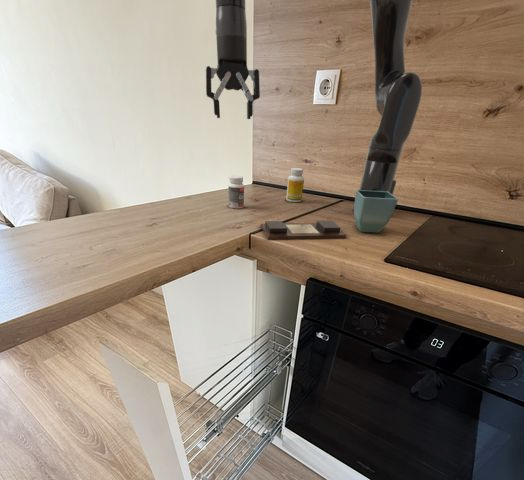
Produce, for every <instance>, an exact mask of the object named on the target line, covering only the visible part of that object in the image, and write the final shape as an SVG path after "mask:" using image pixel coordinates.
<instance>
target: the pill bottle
mask: <svg viewBox="0 0 524 480" xmlns="http://www.w3.org/2000/svg"><path fill="white" fill-rule="evenodd" d="M228 181H229V183H228V186H227V187H228V207H229V208H230V209H235V210H236V209H237V210H238V209H243V208H244V207H245V185H244V176H242V175H230V176H229V177H228Z"/></svg>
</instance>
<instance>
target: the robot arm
mask: <svg viewBox="0 0 524 480" xmlns="http://www.w3.org/2000/svg"><path fill="white" fill-rule="evenodd" d="M412 5H413V0H369V6H370V7H369V8H370V16H371V29H372V40H373V49H374V51H373V53H374V104H375V108H376V111H377V112H378V114H379V115H380V116H381V118H380V122H379V125H378V127H377V130H376V132H374V133H373V134H372V135H371V137H370V139H369V145H368V149H367V154H366V157H365V162H364V167H363V171H362V176H361V181H360V185H359V189H358V190H366V191H385V192H390V193H391V194H392V195H394V191H395V187H396V184H397V180H395V177H396V173H397V170H398V167H399V162H400V159H401V156H402V152H403V148H404V146H405V143H406V141H407V140H408V138H409V136H410V134H411V131H412V129H413V125H414V123H415V119H416V116H417V113H418V110H419V107H420V103H421V99H422V94H423V82H422V80H421V78H420V76H419V75H418V74H417V73H416V72H413V71H406V67H405V66H406V65H405V39H406V33H407V28H408V23H409V18H410V15H411V11H412ZM246 15H247V13H246V0H215V35H216V52H217V53H216V56H217V57H216V59H217V66H216V67H211V66H210V65H207V66H206V68H205V95H206V97H207V98H209V99H211V100H212V102H213V114H214V116H216V118H217V119H220V118H221V111H220V100H219V98H220V96H221V94H222V92H223V91H224V89H225V90H227V91H231V90H233V91H240V90H241V92H242V93H243V96H244V97H245V98H246V100H247V101H246V120H251V117H253V114H254V101H256V100H259V99H260V97H261V93H260V91H261V90H260V70H259V69H258V68H255V69H250V70H249V68H248V50H247V49H248V41H247V40H248V39H247V38H248V37H247V35H248V34H247V33H248V32H247V31H248V30H247V27H248V25H247V16H246ZM215 75H216V76H217V78H218V80H219V82H220V83H219V85H218V87H217V89H216V90H215V92H213V91H212V79H214V78H215ZM248 78H250V81H252V82H253V83H252V85H253V86H252V87H253V94H252V93H251V91H250V88H249V87H248V84H247V83H246V82H247V79H248Z"/></svg>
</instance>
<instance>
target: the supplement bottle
mask: <svg viewBox="0 0 524 480" xmlns="http://www.w3.org/2000/svg"><path fill="white" fill-rule="evenodd" d="M303 175H304V168H300V167H291V169H290V175H289V176H288V178H287V186H286V198H285V200H286V201H287V202H290V203H301V202H302V201H303V193H304V184H305V178H304V176H303Z"/></svg>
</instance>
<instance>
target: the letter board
mask: <svg viewBox="0 0 524 480" xmlns="http://www.w3.org/2000/svg"><path fill="white" fill-rule="evenodd" d="M260 228H261V230H262V232H263V234H264V236H265V238H267V240H315V239H317V240H318V239H319V240H321V239H346V235H347V234H346V233H344V232H343V231H341V229H342V228H341V226H339V225H338V224H337V223H336V222H335V221H334V220H316V222H295V223H294V222H291V223H284V222H283V221H282V220H266V221H265V222H264V223H260Z"/></svg>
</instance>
